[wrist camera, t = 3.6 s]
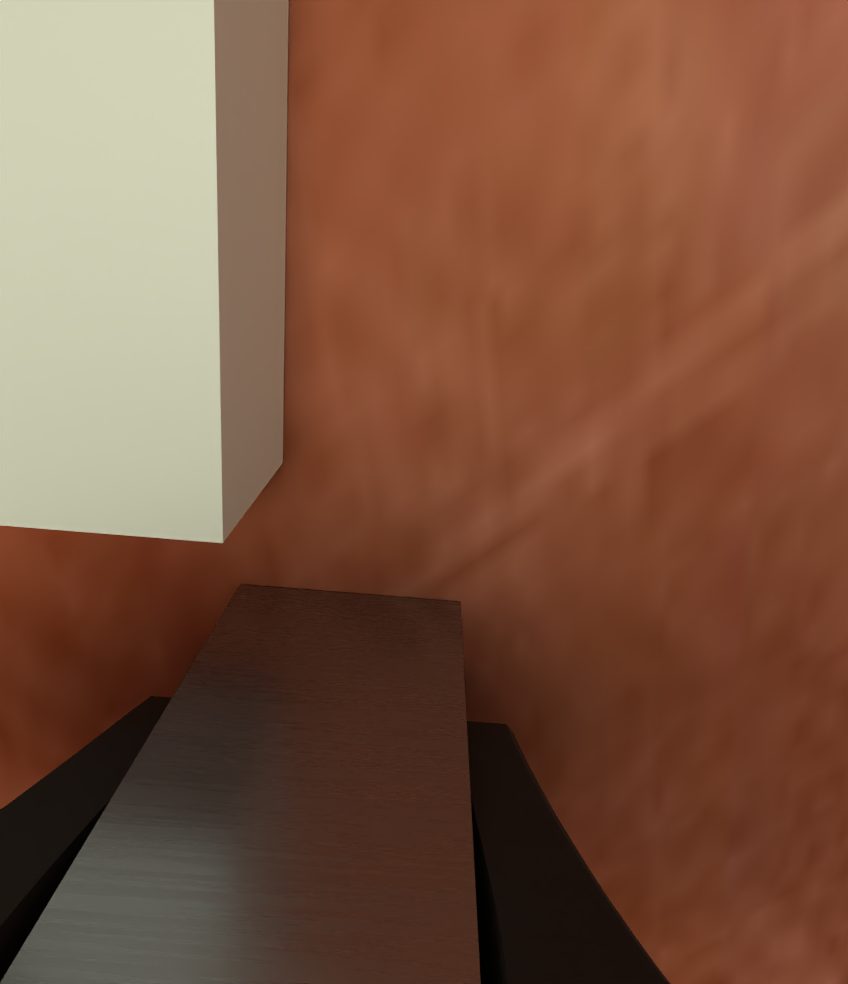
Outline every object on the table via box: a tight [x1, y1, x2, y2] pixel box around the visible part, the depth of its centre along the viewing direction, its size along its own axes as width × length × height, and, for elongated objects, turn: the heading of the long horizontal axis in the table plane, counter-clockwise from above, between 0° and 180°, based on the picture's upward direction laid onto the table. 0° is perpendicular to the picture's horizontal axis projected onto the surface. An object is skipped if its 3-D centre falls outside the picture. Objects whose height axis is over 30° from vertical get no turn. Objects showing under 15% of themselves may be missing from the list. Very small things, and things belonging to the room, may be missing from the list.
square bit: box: [0, 584, 481, 984], centre depth 8 cm, size 3×3×7 cm
